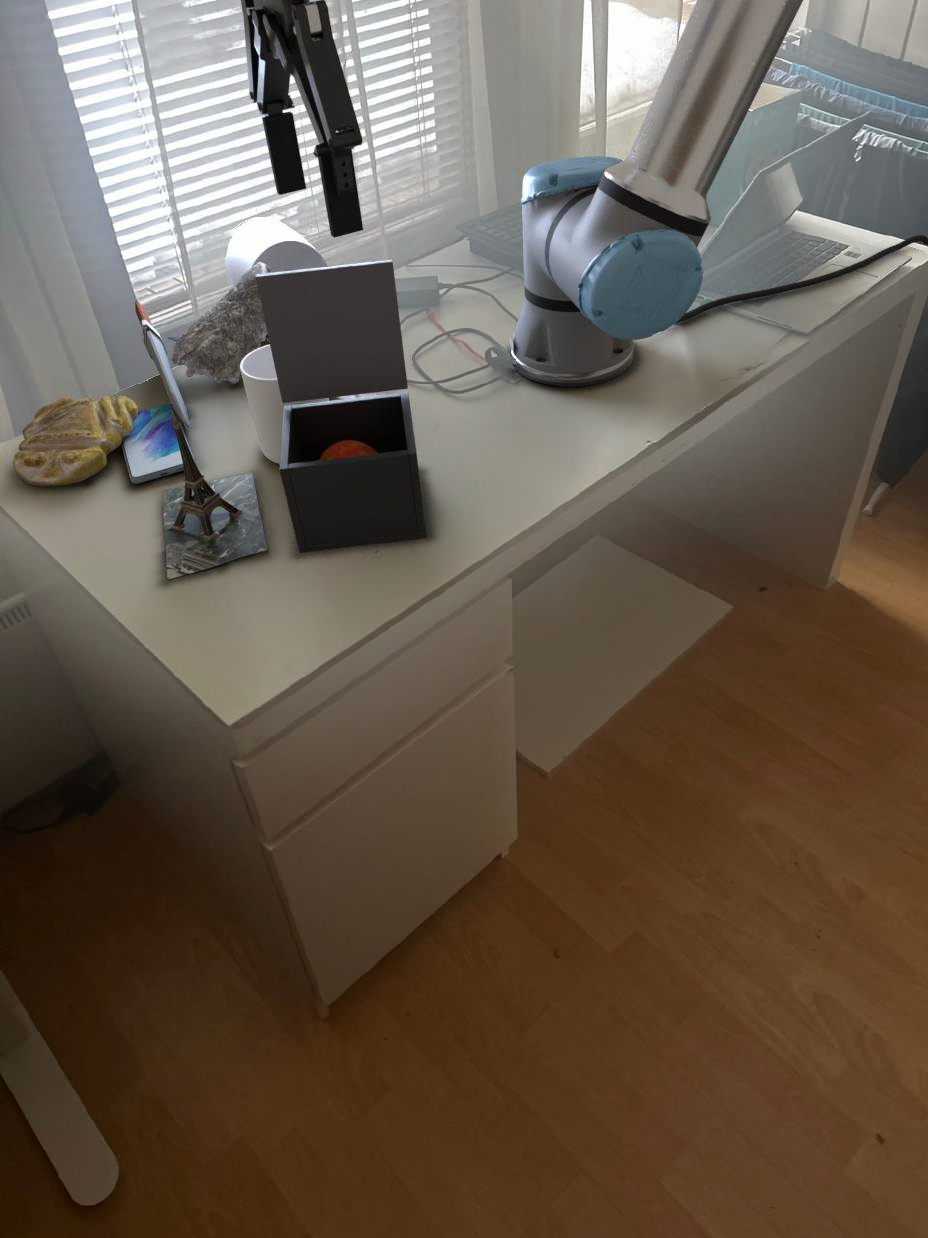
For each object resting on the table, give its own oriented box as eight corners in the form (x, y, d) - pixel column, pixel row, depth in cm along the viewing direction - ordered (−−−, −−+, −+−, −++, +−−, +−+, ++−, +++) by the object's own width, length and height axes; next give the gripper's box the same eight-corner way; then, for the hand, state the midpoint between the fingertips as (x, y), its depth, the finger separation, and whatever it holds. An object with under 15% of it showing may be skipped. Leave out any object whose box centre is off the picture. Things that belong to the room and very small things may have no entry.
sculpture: (143, 389, 107) (86, 468, 97) (154, 414, 109) (100, 494, 99) (45, 391, 110) (-20, 468, 100) (58, 415, 112) (-4, 493, 102)
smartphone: (130, 480, 99) (113, 417, 109) (133, 487, 100) (116, 424, 110) (195, 461, 101) (173, 401, 111) (197, 468, 101) (175, 407, 112)
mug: (372, 452, 102) (358, 364, 94) (266, 474, 100) (243, 386, 93) (357, 415, 108) (344, 329, 101) (257, 435, 106) (235, 349, 99)
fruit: (391, 430, 90) (365, 475, 85) (397, 488, 95) (372, 534, 89) (326, 423, 92) (296, 467, 86) (334, 480, 96) (307, 525, 91)
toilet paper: (266, 343, 125) (240, 315, 133) (343, 307, 128) (313, 281, 135) (232, 260, 117) (206, 235, 125) (314, 223, 119) (284, 201, 127)
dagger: (188, 451, 108) (142, 332, 126) (206, 445, 108) (157, 327, 127) (167, 406, 103) (122, 289, 121) (185, 399, 103) (138, 284, 122)
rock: (159, 369, 116) (221, 407, 115) (146, 334, 110) (211, 374, 109) (249, 277, 123) (309, 312, 122) (242, 240, 117) (305, 276, 115)
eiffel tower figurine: (271, 555, 89) (239, 437, 80) (167, 579, 88) (122, 462, 78) (253, 475, 100) (223, 363, 91) (160, 495, 98) (120, 383, 89)
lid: (392, 261, 83) (392, 259, 84) (255, 276, 83) (256, 274, 83) (408, 388, 91) (407, 385, 91) (282, 403, 90) (282, 399, 91)
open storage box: (426, 537, 90) (416, 453, 83) (299, 553, 89) (279, 469, 82) (418, 472, 98) (408, 391, 91) (301, 486, 98) (283, 405, 91)
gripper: (173, -89, 75) (236, 184, 89) (274, -66, 58) (331, 264, 72) (259, -101, 77) (307, 167, 91) (381, -82, 60) (415, 241, 75)
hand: (318, 210), depth 82 cm, fingers open, 13 cm apart
